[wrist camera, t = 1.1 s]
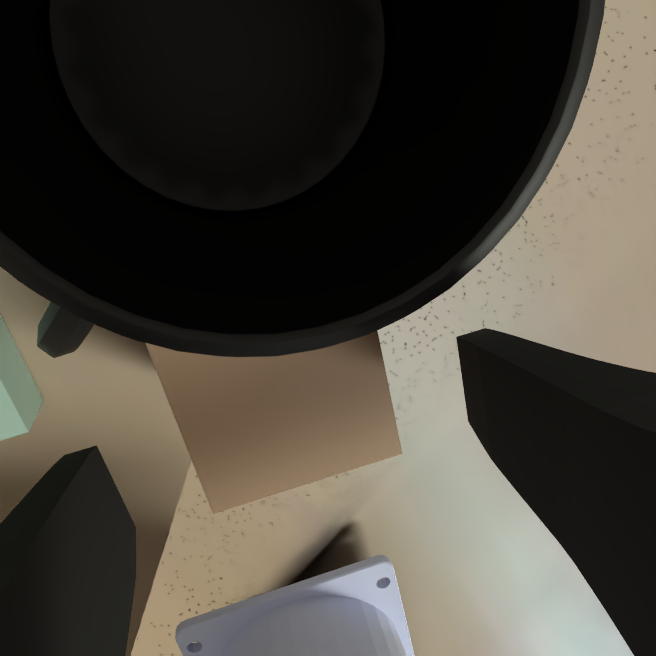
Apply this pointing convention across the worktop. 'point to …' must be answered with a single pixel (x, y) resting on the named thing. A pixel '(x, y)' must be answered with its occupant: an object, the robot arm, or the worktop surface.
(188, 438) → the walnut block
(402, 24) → the mug
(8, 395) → the tray
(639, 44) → the worktop surface
